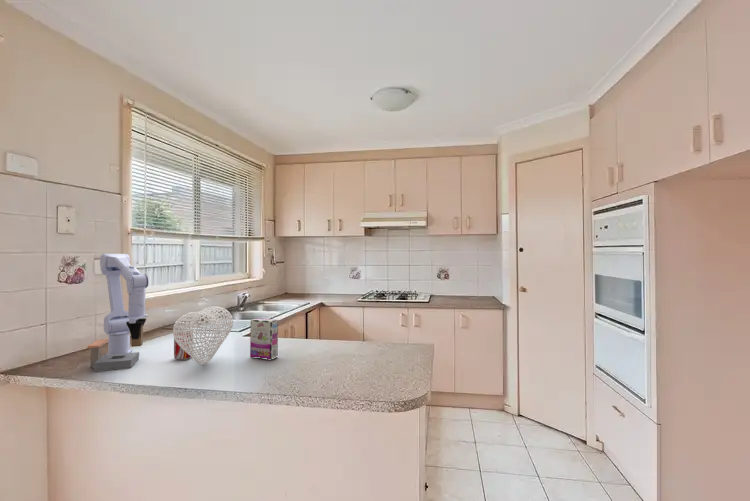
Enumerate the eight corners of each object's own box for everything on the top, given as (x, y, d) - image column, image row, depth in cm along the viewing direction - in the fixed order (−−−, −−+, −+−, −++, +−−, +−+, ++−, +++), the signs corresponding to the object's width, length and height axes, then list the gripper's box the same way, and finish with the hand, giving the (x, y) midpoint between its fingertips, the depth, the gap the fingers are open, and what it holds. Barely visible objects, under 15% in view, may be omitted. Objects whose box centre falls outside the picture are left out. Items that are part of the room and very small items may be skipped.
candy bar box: (278, 357, 158) (278, 319, 158) (270, 361, 154) (271, 321, 154) (257, 354, 163) (257, 317, 163) (249, 357, 158) (250, 319, 158)
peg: (133, 344, 150) (134, 325, 150) (142, 344, 151) (143, 324, 152) (131, 346, 147) (132, 326, 147) (140, 346, 149) (141, 326, 149)
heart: (203, 354, 162) (204, 303, 162) (238, 355, 161) (239, 304, 161) (163, 375, 134) (164, 314, 134) (204, 377, 133) (205, 315, 133)
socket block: (97, 362, 148) (97, 339, 148) (138, 359, 153) (139, 336, 153) (85, 371, 137) (86, 346, 137) (130, 368, 142) (131, 343, 142)
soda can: (184, 361, 151) (185, 332, 151) (169, 360, 153) (170, 331, 153) (196, 356, 158) (196, 328, 158) (181, 355, 160) (182, 327, 160)
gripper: (144, 306, 144) (143, 341, 144) (151, 301, 158) (151, 333, 157) (123, 307, 141) (122, 342, 141) (132, 302, 155) (131, 334, 155)
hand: (136, 338), depth 149 cm, fingers closed on peg, 3 cm apart
